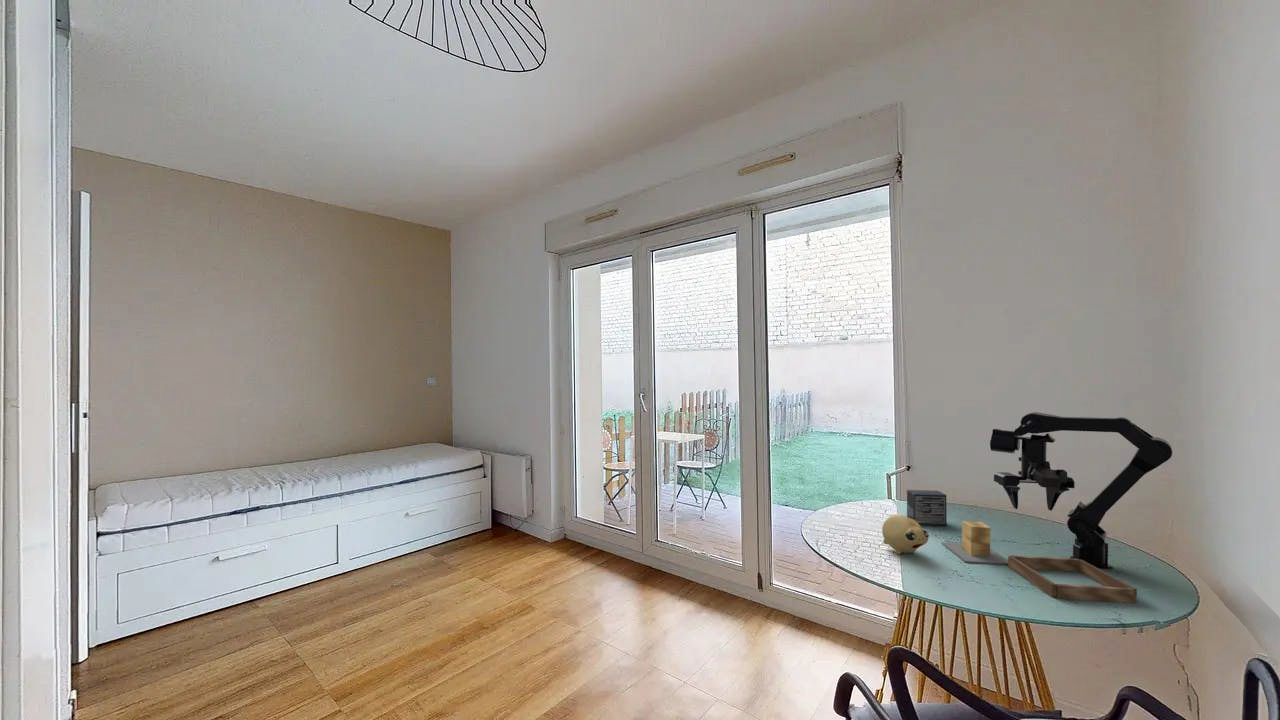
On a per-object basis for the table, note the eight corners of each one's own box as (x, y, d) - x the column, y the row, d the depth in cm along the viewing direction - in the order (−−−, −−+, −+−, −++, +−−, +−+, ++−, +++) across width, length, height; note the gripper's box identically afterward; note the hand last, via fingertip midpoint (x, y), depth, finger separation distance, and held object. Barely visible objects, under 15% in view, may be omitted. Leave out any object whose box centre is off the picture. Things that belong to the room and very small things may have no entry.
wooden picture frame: (1080, 570, 135) (1080, 558, 135) (1138, 603, 117) (1138, 590, 117) (1007, 566, 137) (1007, 555, 137) (1053, 598, 119) (1053, 585, 119)
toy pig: (907, 563, 138) (907, 524, 138) (874, 547, 150) (875, 511, 150) (935, 559, 141) (936, 521, 141) (901, 543, 153) (902, 508, 153)
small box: (937, 520, 175) (938, 489, 175) (947, 526, 169) (947, 495, 168) (905, 519, 176) (906, 488, 176) (914, 525, 170) (914, 493, 169)
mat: (984, 545, 152) (984, 544, 151) (1012, 565, 138) (1012, 563, 138) (941, 543, 153) (941, 542, 153) (965, 562, 139) (965, 560, 139)
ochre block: (980, 549, 147) (980, 521, 147) (990, 556, 142) (990, 527, 142) (961, 548, 148) (962, 521, 148) (970, 555, 143) (971, 526, 143)
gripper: (1016, 460, 141) (1015, 516, 141) (1090, 462, 139) (1088, 519, 139) (993, 452, 152) (992, 504, 152) (1061, 454, 150) (1060, 507, 150)
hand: (1032, 509), depth 148 cm, fingers open, 9 cm apart
